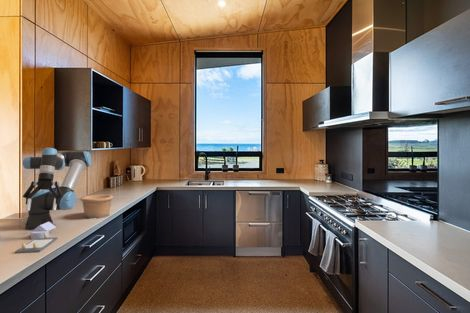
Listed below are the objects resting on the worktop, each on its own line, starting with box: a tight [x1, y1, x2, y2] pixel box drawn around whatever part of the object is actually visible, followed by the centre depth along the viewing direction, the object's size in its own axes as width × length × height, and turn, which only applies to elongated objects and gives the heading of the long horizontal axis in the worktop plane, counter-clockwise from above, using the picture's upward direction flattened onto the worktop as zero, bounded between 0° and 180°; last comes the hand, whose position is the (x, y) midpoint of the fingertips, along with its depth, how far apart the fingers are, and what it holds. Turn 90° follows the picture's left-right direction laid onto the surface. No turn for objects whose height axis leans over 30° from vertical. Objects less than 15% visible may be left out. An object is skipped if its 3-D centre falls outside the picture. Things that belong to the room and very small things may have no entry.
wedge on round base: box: [29, 222, 57, 240], centre depth 177 cm, size 9×7×13 cm
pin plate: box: [14, 233, 59, 254], centre depth 159 cm, size 21×11×4 cm, turn 9°
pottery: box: [80, 194, 114, 219], centre depth 227 cm, size 22×22×14 cm
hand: (41, 210), depth 173 cm, fingers open, 13 cm apart
